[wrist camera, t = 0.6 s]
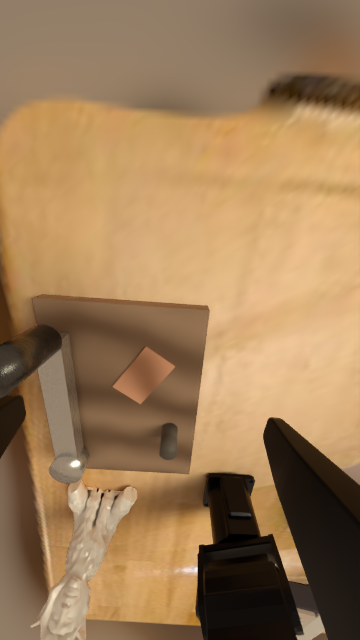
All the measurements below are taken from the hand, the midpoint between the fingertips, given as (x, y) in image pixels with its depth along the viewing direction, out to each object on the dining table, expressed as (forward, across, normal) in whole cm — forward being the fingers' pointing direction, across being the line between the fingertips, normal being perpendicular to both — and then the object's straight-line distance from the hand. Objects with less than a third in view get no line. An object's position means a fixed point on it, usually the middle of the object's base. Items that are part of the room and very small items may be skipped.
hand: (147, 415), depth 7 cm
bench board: (+13, +4, +10) cm, 17 cm away
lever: (+11, +10, +11) cm, 19 cm away
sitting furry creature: (+14, +7, +31) cm, 34 cm away
